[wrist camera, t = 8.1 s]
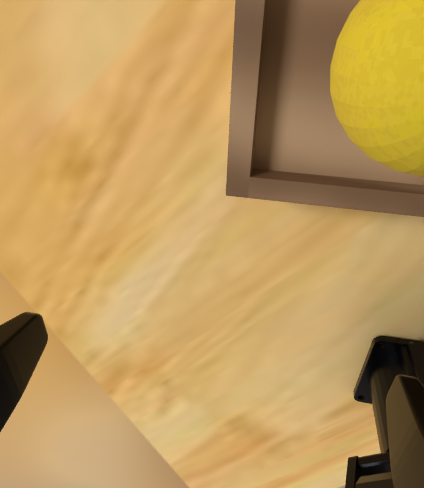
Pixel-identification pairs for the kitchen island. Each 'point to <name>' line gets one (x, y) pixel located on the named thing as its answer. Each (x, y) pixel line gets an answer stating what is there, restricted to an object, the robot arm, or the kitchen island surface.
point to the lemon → (382, 82)
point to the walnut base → (300, 115)
